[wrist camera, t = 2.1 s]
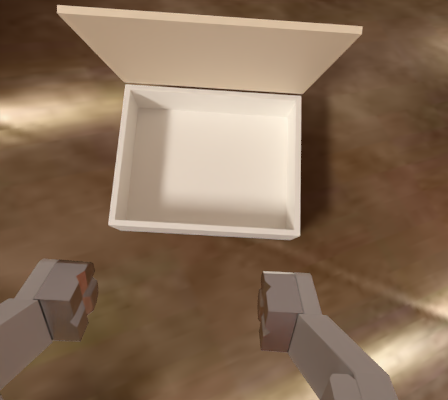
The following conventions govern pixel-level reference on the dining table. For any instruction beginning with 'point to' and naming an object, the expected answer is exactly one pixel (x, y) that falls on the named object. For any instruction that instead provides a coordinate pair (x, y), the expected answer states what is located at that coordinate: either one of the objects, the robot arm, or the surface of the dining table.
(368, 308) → the dining table surface
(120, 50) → the mailer lid
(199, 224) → the tray
